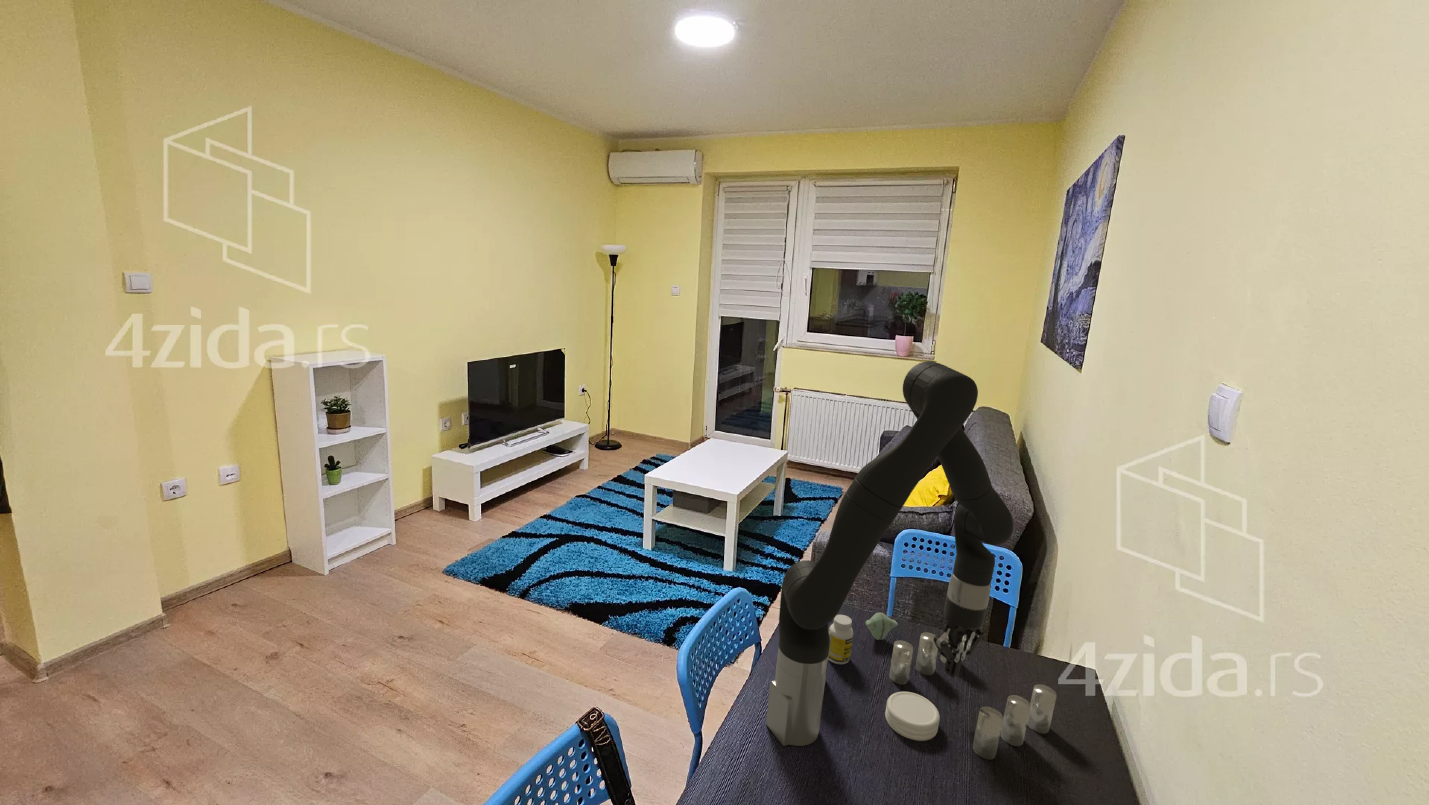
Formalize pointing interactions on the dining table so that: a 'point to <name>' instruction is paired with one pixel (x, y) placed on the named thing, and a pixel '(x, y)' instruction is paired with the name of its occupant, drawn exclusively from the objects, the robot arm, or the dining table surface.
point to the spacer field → (989, 718)
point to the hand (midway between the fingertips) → (951, 674)
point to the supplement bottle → (841, 639)
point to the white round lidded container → (912, 716)
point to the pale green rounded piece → (880, 625)
